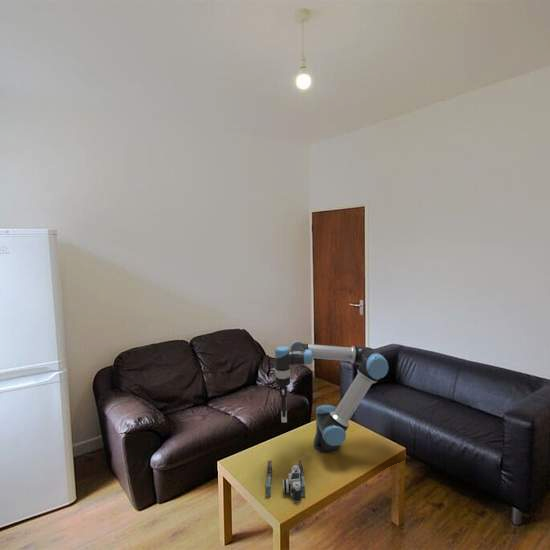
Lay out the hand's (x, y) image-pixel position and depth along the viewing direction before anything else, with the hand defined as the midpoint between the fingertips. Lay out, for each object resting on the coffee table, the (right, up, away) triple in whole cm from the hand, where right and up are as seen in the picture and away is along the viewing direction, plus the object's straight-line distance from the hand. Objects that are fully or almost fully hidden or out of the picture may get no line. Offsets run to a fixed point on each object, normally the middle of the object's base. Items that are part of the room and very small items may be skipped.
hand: (284, 415), depth 190 cm
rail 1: (-8, -28, -12) cm, 32 cm away
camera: (+4, -29, -18) cm, 34 cm away
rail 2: (+8, -28, -13) cm, 32 cm away
